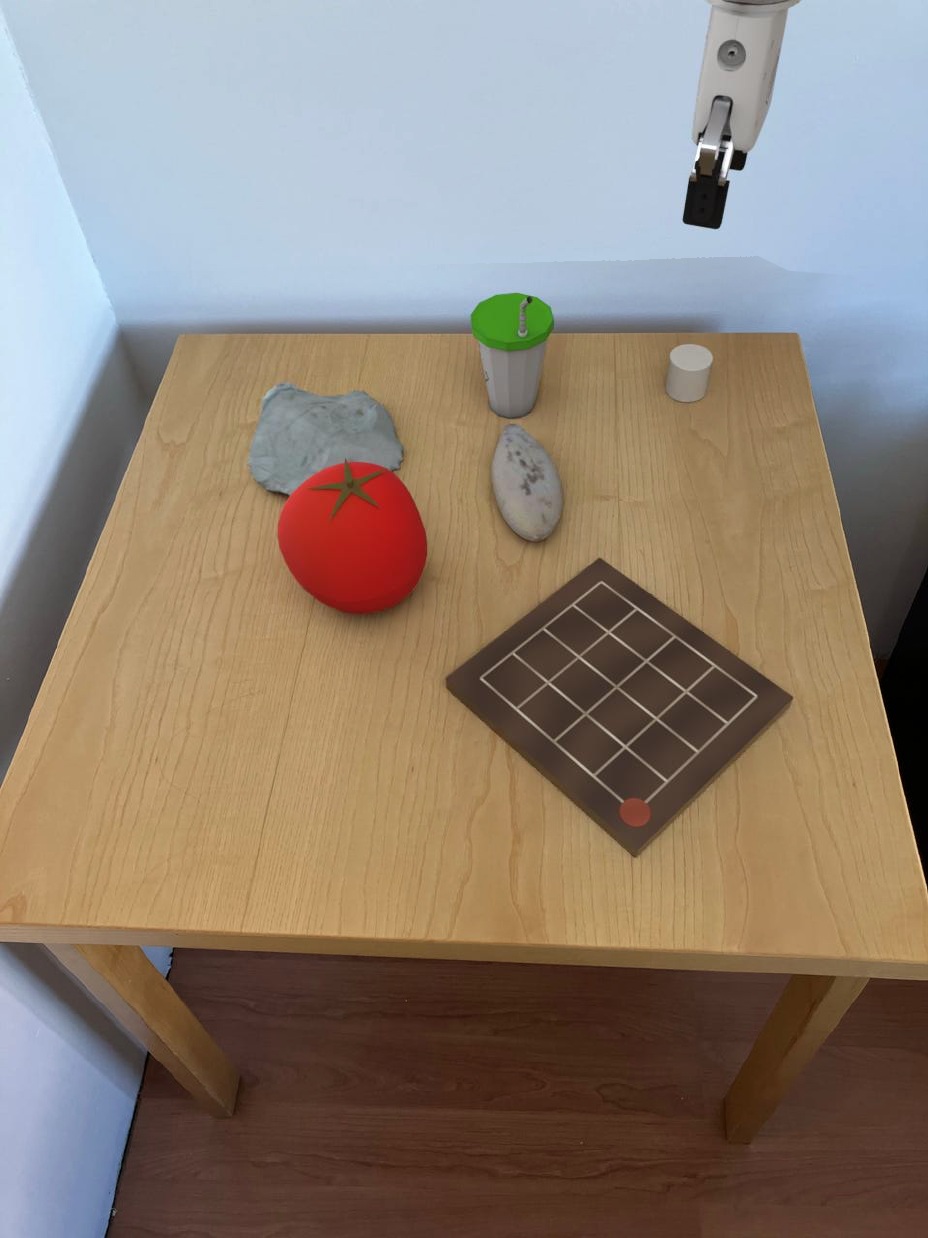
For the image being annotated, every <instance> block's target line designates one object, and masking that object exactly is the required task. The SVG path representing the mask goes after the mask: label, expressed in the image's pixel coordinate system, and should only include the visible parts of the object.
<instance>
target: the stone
mask: <svg viewBox="0 0 928 1238" xmlns="http://www.w3.org/2000/svg"><path fill="white" fill-rule="evenodd" d="M395 430H396V427H395V422H394V420H393V417H392V416H391V413H390V412H389V411H387V409H386V406H385V405H384V404H380V403H378V402H377V400H376V399H375V398H373V397H372V396H370V395H369V394H368V393H367V392H366V391H365V390H350V391H349V392H348V393H347V394H337V395H318V394H317V393H313V392H308V391H306V390H303V389H301V388H300V387H298V386H297V385H296V384H294V383H293V382H288V381H287V382H286V381H281V382H278V383H277V384H275V385H274V386H273V387H272V388H270V389H269V390H268V391H267V392H266V394H265V396H264V397H263V398H262V404H261V412H260V414H259V417H258V423H257V424H256V427H255V431H254V436H253V439H252V442H251V443H250V447H249V460H248V461H247V466H248V467H249V468H250V474H251V475H252V477H253V478H254V480H255V482H256V483H257V484H258V485H260V486H261V487H262V488H264V489H265V490H266V491H267V492H275V493H282V494H285V495H288V497H290V495H291V494H292V493H293V492H294V491H295V490H296V489H297V488H298V487H299V486H300V485H301V484H302V483H303V482H304V481H306V480H307V479H308V478H310V477H311V476H313V475H314V474H316V473H317V472H319V471H321V470H323V469H325V468H328V467H331V466H334V465H337V464H341V463H345V458H346V460H347V462H366V463H372V464H376V465H379V466H382V467H385V468H388V470H390V471H391V472H393V471H399V470H401V465H400V464H401V462H403V461H404V458H403V452H404V447H403V444H402V442H400V441H399V440H398V437H397V435H396V432H395Z"/></svg>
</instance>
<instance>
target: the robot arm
mask: <svg viewBox="0 0 928 1238" xmlns="http://www.w3.org/2000/svg"><path fill="white" fill-rule="evenodd" d="M704 1H705V2H707V3H708V4H709V5H711V8H710V13H709V14H710V15H709V20H708V26H707V31H706V35H705V43H704V49H703V55H702V60H701V66H700V72H699V73H700V74H699V80H698V85H697V92H696V99H695V106H694V112H693V113H694V114H693V121H692V128H691V129H692V130H691V132H692V133H691V140H692V142H693V144H694V145H696V146H697V149H696V152H695V157H694V161H693V164H692V169H691V173H690V175H689V177H688V183H687V188H686V189H687V190H686V195H685V200H684V201H685V202H684V207H683V213H682V223H683V224H684V225H687V226H694V227H698V228H699V227H700V228H704V229H712V230H719V229H720V228H721V226H722V223H723V219H724V213H725V210H726V205H727V204H726V203H727V198H728V193H729V188H730V183H731V180H728V177H729V171H730V170H731V171H738V172H740V171H743V170H744V169H745V166H746V163H747V159H748V153H749V152H750V151H751V150H752V149H753V148H754V147H755V145H756V143H757V141H758V138H759V136H760V134H761V131H762V130H763V129H762V128H763V126H764V123H765V121H766V119H767V116H768V112H769V111H770V107H771V104H772V100H773V95H774V88H775V84H776V77H777V72H778V67H779V61H780V56H781V51H782V46H783V41H784V35H785V30H786V26H787V25H786V24H787V19H788V14H789V9H791V8H792V7H795V6H796V5H798V4H800V2H801V1H802V0H704Z"/></svg>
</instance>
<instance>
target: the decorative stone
mask: <svg viewBox="0 0 928 1238" xmlns="http://www.w3.org/2000/svg"><path fill="white" fill-rule="evenodd" d="M493 454H494V455H493V457H492V463H491V482H492V489H493V493H494V497H495V501H496V504H497V506H498V510H499V511H500V514H501V516H502V517H503V519H504V520H505V522H506V523H507V525H508V526H509V527H510V528H511V530H512V531H513V532H514V533H516V534H517V535H518V536H519V537H521V538H522V539H525V540H528V541H531V542H540V541H543V540H545V539H546V538H548V537H549V536H550V535H551V534H552V533H553V532H554V531H555V529H556V527H557V526H558V523H559V521H560V518H561V516H562V510H563V491H562V489H563V488H562V483H561V479H560V478H561V477H560V475H559V471H558V468H557V467H556V464H555V463H554V461H553V459H552V457H551V455H550V454H549V453H548V451H547V450H546V449H545V448H544V446H543V445H541V443H539V442H538V440H536V439H535V437H533V436H532V435H531V434H530V433H529V432H527V431H526V430H525V429H524V428H523V427H522V426H520V425H519V424H518V423H508V424H506V425H505V426H504V427H503V429H502V430H501V433H500V437H499V439H498V441H497V445H496V448H495V451H494V453H493Z"/></svg>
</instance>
